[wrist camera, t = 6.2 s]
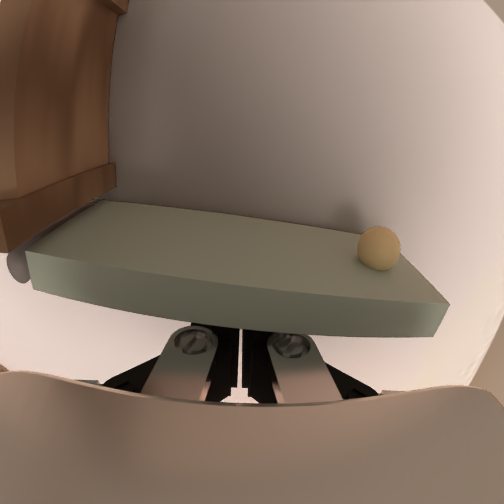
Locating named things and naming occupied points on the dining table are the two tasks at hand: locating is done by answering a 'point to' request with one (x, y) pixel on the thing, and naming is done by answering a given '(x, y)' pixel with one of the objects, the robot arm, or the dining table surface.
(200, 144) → the dining table surface
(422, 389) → the robot arm
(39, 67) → the wall frame
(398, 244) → the door
